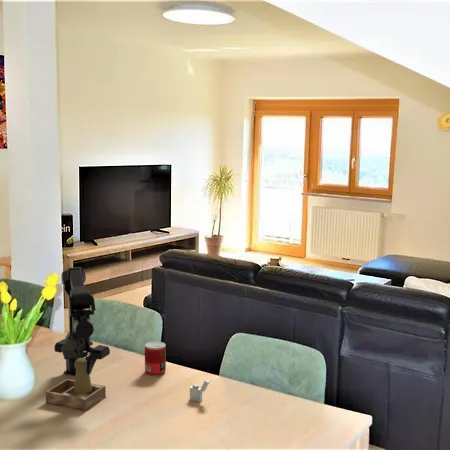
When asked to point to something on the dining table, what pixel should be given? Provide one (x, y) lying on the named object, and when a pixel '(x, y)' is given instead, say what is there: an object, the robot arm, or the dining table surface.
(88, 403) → the socket box
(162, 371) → the canned food
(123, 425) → the dining table surface
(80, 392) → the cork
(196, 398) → the lighter
